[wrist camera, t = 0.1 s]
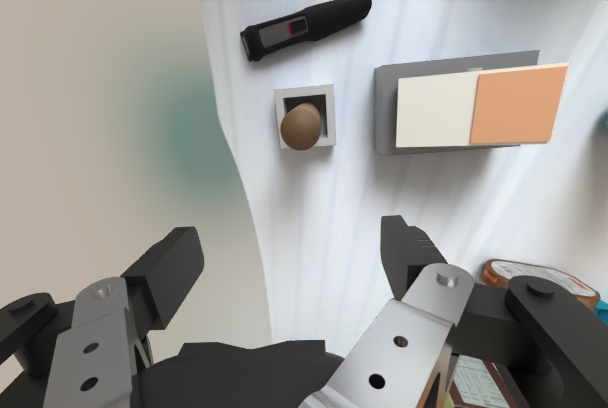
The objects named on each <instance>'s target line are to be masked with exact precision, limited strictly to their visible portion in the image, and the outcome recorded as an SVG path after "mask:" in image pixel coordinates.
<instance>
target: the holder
mask: <svg viewBox="0 0 608 408" xmlns="http://www.w3.org/2000/svg"><path fill="white" fill-rule="evenodd" d="M321 94H325V100H326V119H327V134H324V135H320V137H319V139H318V141H317V142H316V144H315V145H314V146H312V147H316V146H329V145H336V130H335V106H334V84H331V85H321V86H310V87H299V88H289V89H278V90H274V96H275V104H276V113H277V121H278V130H279V138H280V147H281V149H290V147H289V146H288V145H286V143H285V142H284V141H283V139H282V137H281V133H280V125H281V122H282V120H283V118H284V116H285V115H286V114H287V105H286V98H288V97H299V96H310V95H321Z"/></svg>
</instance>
